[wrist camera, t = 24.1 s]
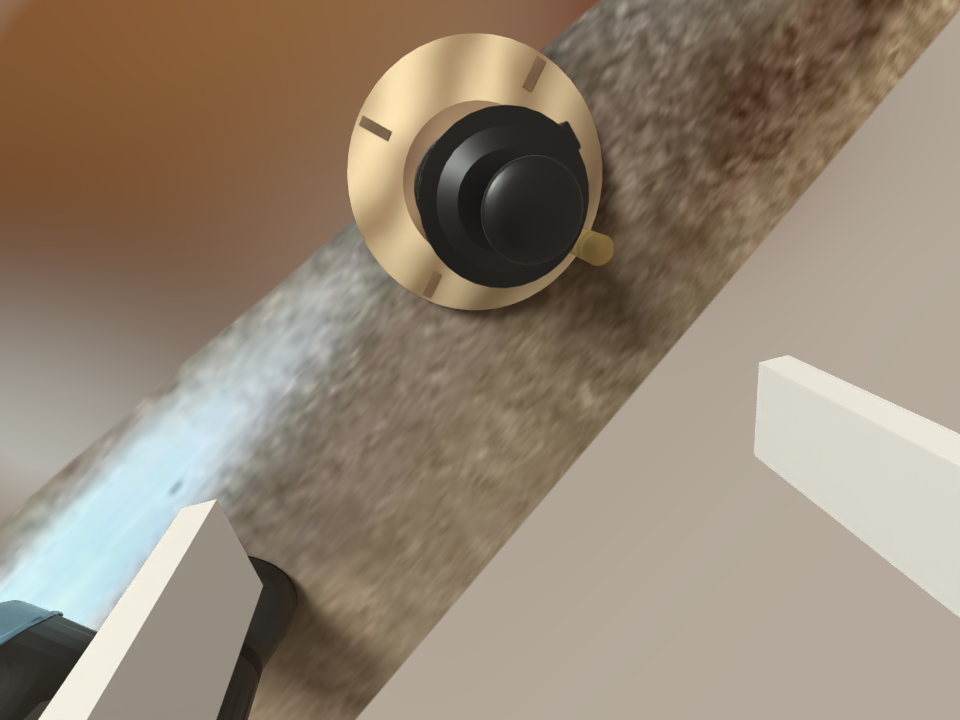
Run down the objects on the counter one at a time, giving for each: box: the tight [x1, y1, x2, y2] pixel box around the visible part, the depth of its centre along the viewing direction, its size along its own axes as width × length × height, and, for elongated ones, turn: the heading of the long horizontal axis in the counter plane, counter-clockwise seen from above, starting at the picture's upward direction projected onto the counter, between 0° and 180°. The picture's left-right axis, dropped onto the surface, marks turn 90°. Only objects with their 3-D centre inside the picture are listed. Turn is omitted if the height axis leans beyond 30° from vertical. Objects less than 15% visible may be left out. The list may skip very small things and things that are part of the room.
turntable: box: [347, 33, 614, 310], centre depth 37 cm, size 22×22×9 cm
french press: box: [414, 105, 589, 288], centre depth 28 cm, size 12×9×23 cm
